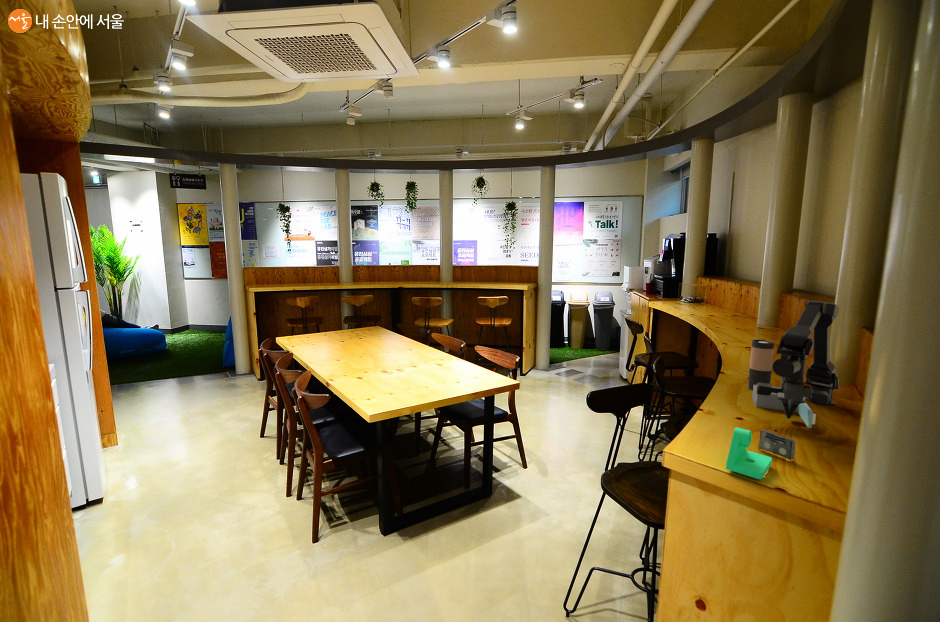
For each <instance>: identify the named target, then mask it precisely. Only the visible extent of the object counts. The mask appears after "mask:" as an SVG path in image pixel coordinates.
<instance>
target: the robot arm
mask: <svg viewBox="0 0 940 622" xmlns="http://www.w3.org/2000/svg"><path fill="white" fill-rule="evenodd" d="M839 311H840V308H839V306H838V305H837V304H836V303H835V302H827V301H826V302H825V301H824V302H823V301H815V300H808V301H807V300H806V302H805V305H804V309H803V311H802V313H801V314H800V316H799V319H798V321H797V323H795V326H793V327H791V328H788V329H787V330H786V332H785V333H784V334H783V335H782V336H781V338H780V340H779V344H778V347H777V350H776V351H775V353H776V354H778V355H780V358H777V359H776V360H774V361H773V364H772V371H773V373H774V374H775V375H776V376H779V377H781V381H780V387H779V388H775V387H776V386H772V384H771V383H770V384H767V383H760V382H759V383H757V385H756V393H757V394H759V395H766V396H769V395H770V394H771V393H776V396H777V399H778V400H781V401H782V403H783V406H784V409H785V411H784V412H785V416H786V419H789V420H790V419H791V418H792V416H793V415H794V413H795V412H794V411H795V409H796V408H797V407H798V405H800V404H801V403H806V400H807V401H809V402H812V403H814V404H816V405H820V406H823V405H831V406H832V405H836V403H835V401H832V400H833V393H834V391H835V390H839V388H840V382H839V381H840V380H839V376H838V373H836V366H835V365H834V363H832V361H831V360H830V359H831V357H830V356H831V326H832V324H833V323H834V321H835V320H836V319H837V317H838V315H839ZM812 333H813V337H812ZM812 351H813V361H812V363H810V365H809V367H808V368H807V371H806V363H807V358H808V357H809V356H810V355H811V354H812ZM805 371H806V373H805ZM805 377H806V378H805ZM804 379H805V380H806V383H805V384H806V385H805V384H804ZM783 391H784V392H783ZM790 399H791V403H790V408H789V405H788V403H789V400H790Z"/></svg>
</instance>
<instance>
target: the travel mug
mask: <svg viewBox="0 0 940 622" xmlns="http://www.w3.org/2000/svg"><path fill="white" fill-rule="evenodd" d="M750 348H751V350H750V357H749V358H750V359H749V369H748V382H747V383H748V385H747V386H748V389H749V390H751V391H753V386H754V385H757V383H759V382H760V383H767V384H771V380H772V373H773V372H772V371H773V369H772V365H773V363H774V351H775V341H767V340H766V339H752V341H751V347H750Z"/></svg>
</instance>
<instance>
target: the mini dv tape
mask: <svg viewBox="0 0 940 622" xmlns="http://www.w3.org/2000/svg"><path fill="white" fill-rule="evenodd" d="M759 432H760V433H759V441H758V442H759V443H758V449H759V448H760V449H763V450H766V451H769V452H772V453H774V454H777V455H780V456H783V457H785V458H788V459H790V460H791V459H794V460H795V453H796V451H795V450H796V440H794V439H791V438H789V437H786V436H782V435H780V434H778V433H774V432H771V431H769V430H765V429H761V430H759Z"/></svg>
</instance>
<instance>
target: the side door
mask: <svg viewBox="0 0 940 622" xmlns="http://www.w3.org/2000/svg"><path fill="white" fill-rule="evenodd" d="M796 413H798V415H799V417H800V418H801V420H803V422H804V424H805V425H806V427H807V428H808V429H812V426H813V425H815V424H816V418H817V414H816V413H814V412H813V410H812V408H810V406H809V405H808V404H807V402H805V403H801V404H800V405H798V407H797V412H796Z"/></svg>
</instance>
